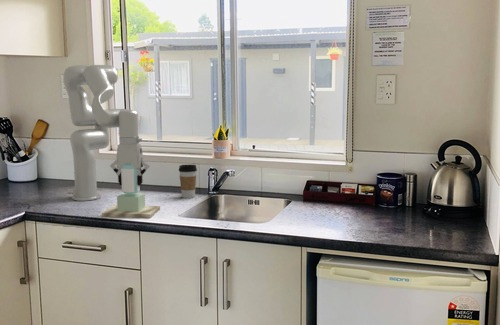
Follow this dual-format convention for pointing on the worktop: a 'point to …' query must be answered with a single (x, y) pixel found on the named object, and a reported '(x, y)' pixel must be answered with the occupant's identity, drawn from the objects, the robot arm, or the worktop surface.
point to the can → (129, 179)
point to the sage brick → (131, 202)
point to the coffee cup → (188, 180)
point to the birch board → (144, 213)
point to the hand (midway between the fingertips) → (130, 184)
